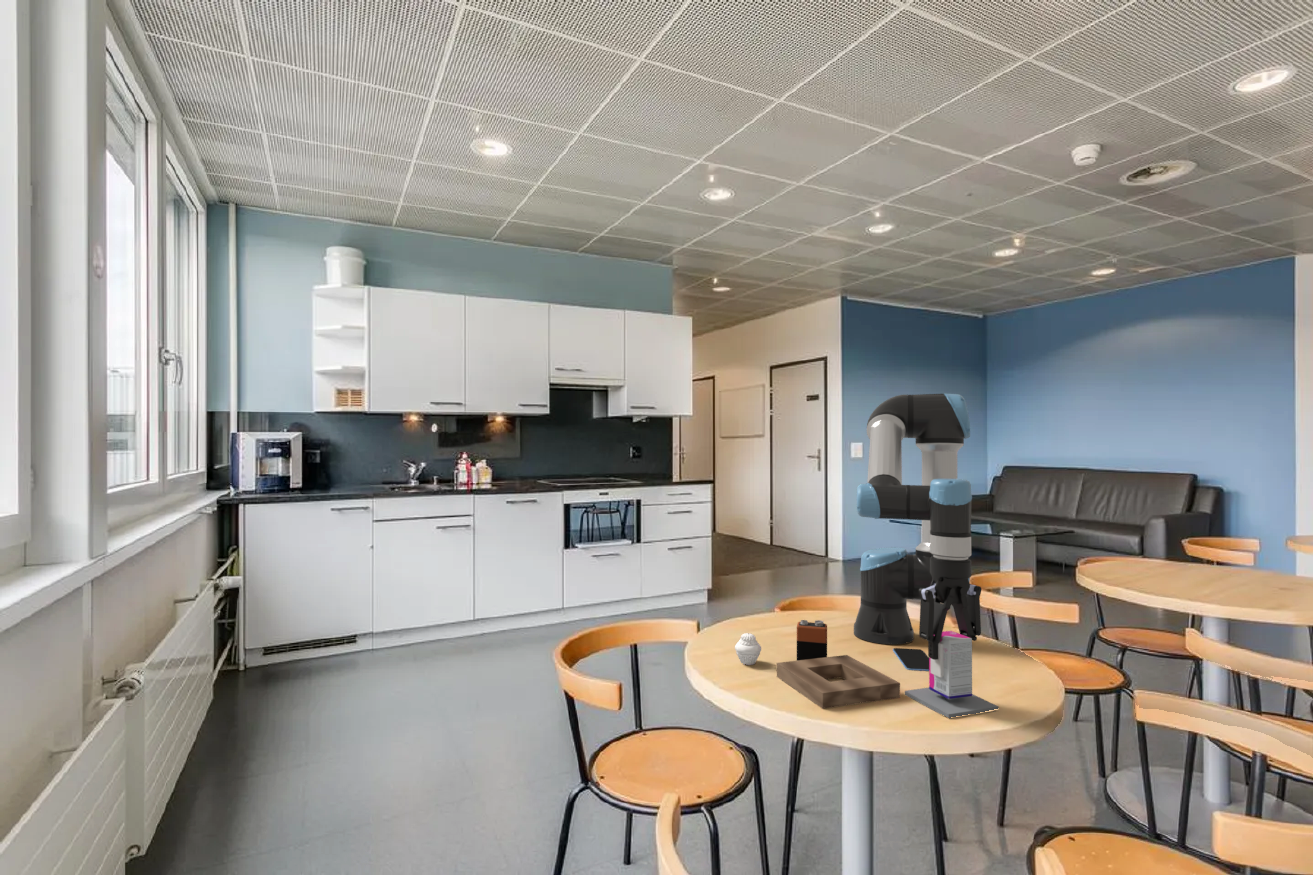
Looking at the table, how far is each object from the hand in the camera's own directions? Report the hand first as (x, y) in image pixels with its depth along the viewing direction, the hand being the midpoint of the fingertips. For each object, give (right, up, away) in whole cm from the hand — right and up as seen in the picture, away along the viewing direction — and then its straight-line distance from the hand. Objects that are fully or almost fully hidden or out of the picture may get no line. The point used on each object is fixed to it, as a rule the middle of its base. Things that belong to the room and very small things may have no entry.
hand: (950, 672), depth 127 cm
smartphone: (+3, -7, +25) cm, 26 cm away
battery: (-22, -6, +22) cm, 32 cm away
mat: (0, -6, 0) cm, 6 cm away
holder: (-21, -6, +8) cm, 23 cm away
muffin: (-37, -6, +22) cm, 44 cm away
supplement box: (0, -4, 0) cm, 4 cm away
